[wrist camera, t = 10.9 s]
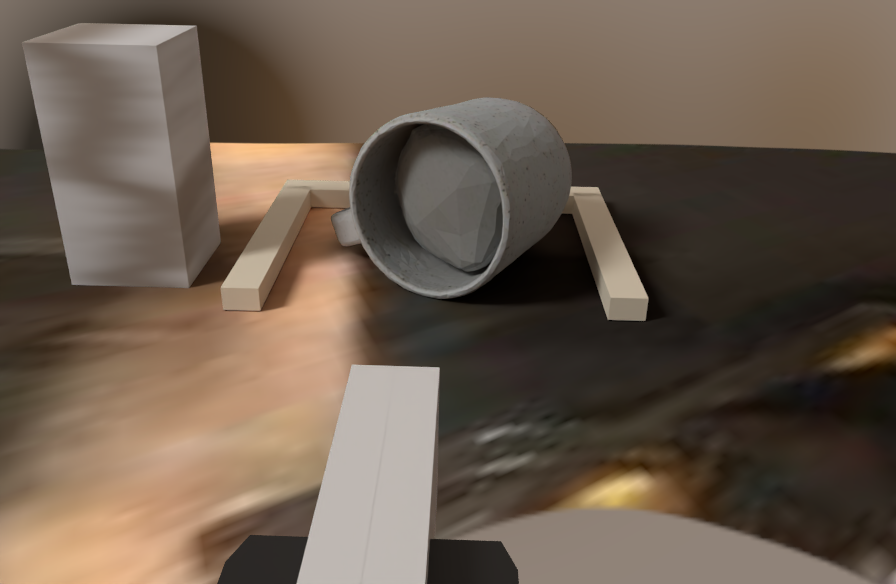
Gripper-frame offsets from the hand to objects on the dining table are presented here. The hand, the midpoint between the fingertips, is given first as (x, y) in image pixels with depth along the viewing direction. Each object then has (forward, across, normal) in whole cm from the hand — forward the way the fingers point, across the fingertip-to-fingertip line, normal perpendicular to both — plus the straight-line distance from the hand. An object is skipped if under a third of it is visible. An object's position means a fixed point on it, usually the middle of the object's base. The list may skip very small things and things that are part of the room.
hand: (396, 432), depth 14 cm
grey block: (+21, -13, -7) cm, 26 cm away
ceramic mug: (+23, 0, -7) cm, 24 cm away
